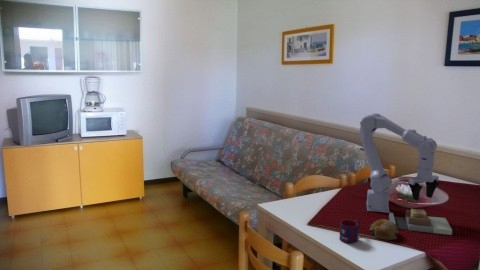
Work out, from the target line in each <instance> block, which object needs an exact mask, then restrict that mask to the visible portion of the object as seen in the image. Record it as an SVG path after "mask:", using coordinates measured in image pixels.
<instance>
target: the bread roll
mask: <svg viewBox="0 0 480 270" xmlns="http://www.w3.org/2000/svg"><path fill="white" fill-rule="evenodd" d="M368 231H369V233H371V235H372V236H373V235H374V237H375V238H378V239H379V238H380V239H379V240H385V241H393V240H396V239H398V238H397V237H398V234H399V229H398V228H397V226H396V225H395V224H394V223H393V222H391V221H390V219H384V218H383V219H382V218H381V219H377V220H375V221H374V222H372V223H371V224H370V227H369V230H368Z"/></svg>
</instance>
